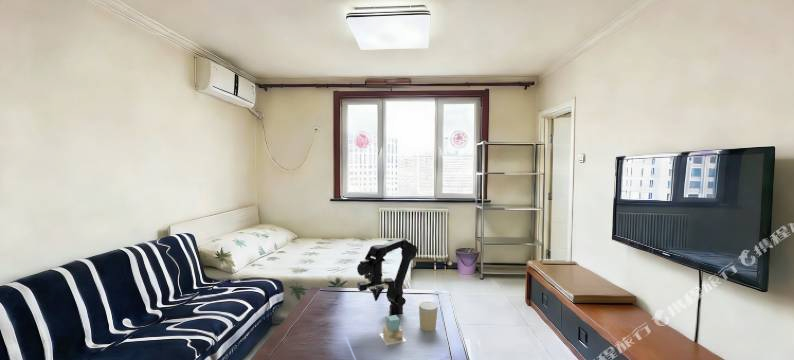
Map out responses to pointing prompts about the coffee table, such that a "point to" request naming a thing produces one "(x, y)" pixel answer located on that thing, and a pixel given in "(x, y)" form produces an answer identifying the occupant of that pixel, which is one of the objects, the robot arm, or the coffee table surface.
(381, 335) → the baseplate
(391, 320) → the teal block
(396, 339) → the maple brick
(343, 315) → the coffee table surface
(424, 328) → the coffee cup
